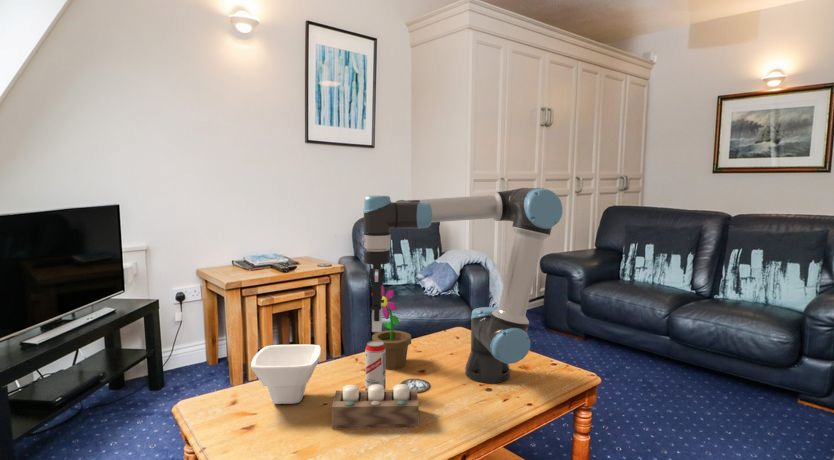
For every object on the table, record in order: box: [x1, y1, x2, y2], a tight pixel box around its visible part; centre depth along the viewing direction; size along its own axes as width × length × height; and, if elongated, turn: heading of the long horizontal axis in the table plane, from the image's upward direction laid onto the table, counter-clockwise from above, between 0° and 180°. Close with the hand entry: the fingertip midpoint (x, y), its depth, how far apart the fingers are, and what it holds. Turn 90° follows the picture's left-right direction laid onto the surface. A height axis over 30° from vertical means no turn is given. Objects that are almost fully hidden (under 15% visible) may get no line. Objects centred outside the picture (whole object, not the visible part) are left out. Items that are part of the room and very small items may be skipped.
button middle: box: [368, 384, 384, 401], centre depth 133 cm, size 4×4×5 cm
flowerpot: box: [371, 284, 412, 371], centre depth 171 cm, size 14×14×30 cm
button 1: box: [342, 384, 360, 401], centre depth 132 cm, size 4×4×5 cm
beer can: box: [364, 340, 387, 390], centre depth 147 cm, size 6×6×16 cm
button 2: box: [393, 383, 410, 400], centre depth 133 cm, size 4×4×5 cm
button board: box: [331, 389, 420, 430], centre depth 132 cm, size 23×10×6 cm, turn 93°
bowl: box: [250, 343, 322, 405], centre depth 143 cm, size 19×19×14 cm
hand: (377, 328), depth 139 cm, fingers open, 5 cm apart
